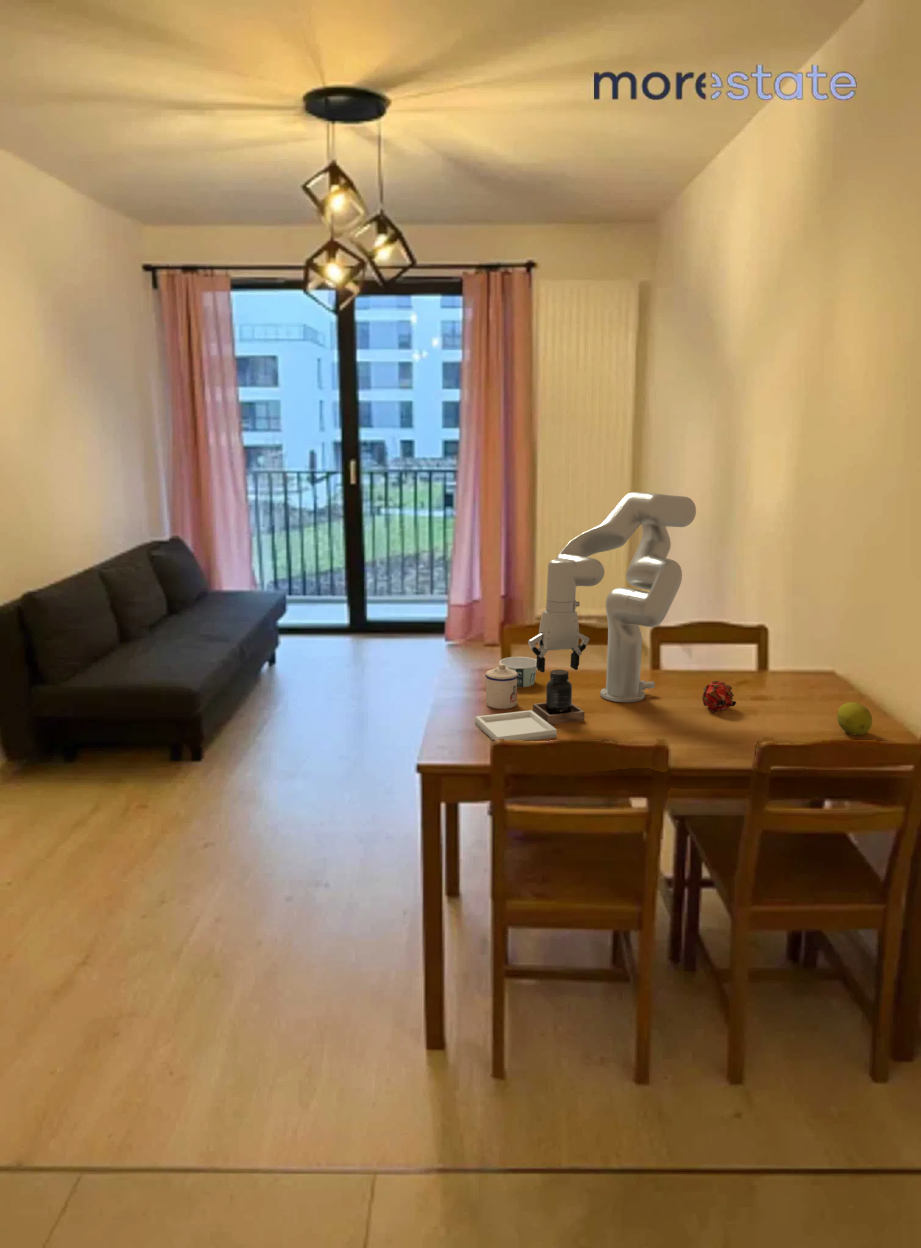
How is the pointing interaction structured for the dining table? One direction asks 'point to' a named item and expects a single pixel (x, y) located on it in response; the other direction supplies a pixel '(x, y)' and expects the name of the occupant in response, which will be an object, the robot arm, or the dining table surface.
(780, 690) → the dining table surface
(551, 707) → the supplement bottle
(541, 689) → the dining table surface
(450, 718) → the dining table surface
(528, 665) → the food container
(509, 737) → the tray
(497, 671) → the teacup with lid
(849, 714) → the lemon
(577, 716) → the holder
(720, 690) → the dragon fruit
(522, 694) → the dining table surface
